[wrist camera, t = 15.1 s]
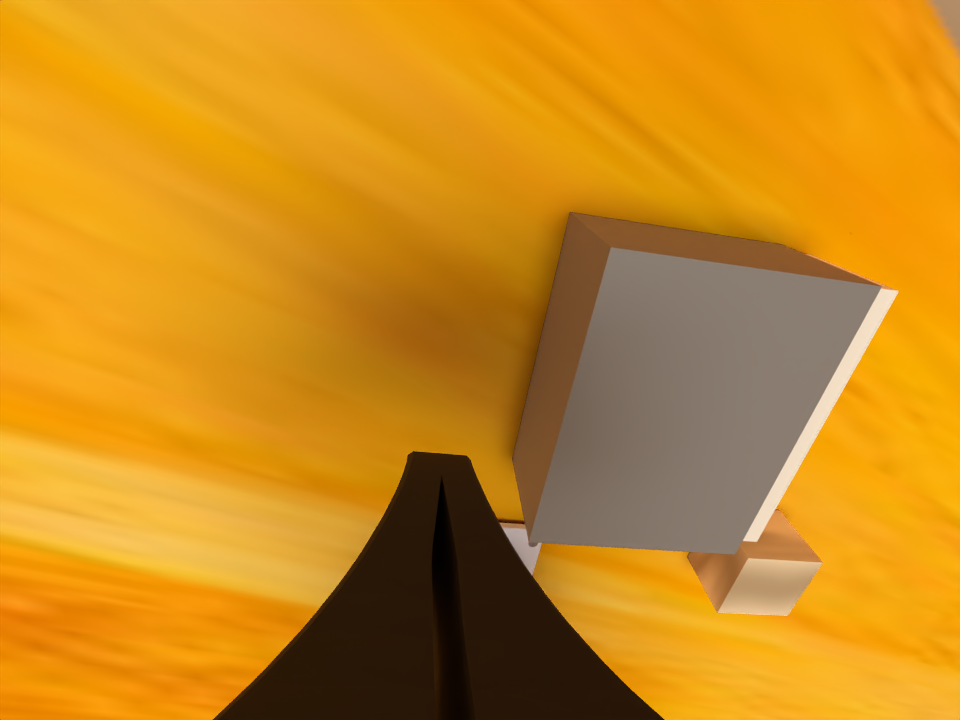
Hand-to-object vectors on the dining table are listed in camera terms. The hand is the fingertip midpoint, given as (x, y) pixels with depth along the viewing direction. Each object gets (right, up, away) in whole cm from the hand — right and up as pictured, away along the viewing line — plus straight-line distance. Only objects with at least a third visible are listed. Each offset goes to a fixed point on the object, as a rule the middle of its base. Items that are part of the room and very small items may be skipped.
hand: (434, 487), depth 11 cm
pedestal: (+15, -7, +17) cm, 24 cm away
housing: (+9, +3, +11) cm, 14 cm away
